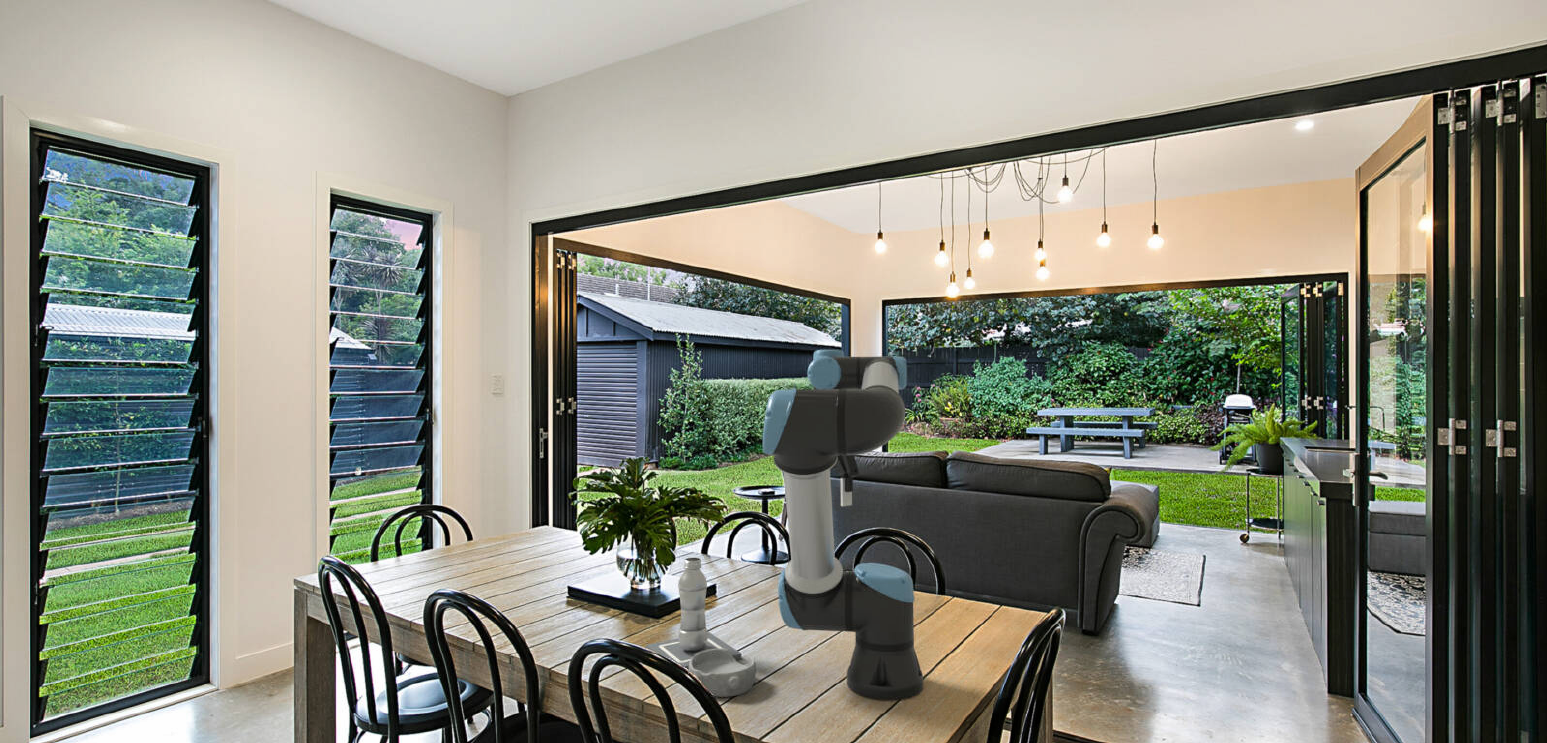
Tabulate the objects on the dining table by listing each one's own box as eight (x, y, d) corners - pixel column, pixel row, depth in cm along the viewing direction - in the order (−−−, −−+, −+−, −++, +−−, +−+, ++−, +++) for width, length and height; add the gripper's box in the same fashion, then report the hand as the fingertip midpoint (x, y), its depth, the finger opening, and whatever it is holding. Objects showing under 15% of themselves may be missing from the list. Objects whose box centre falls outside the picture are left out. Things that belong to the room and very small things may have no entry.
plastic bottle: (713, 647, 165) (713, 558, 165) (694, 657, 159) (694, 564, 159) (691, 642, 168) (691, 554, 168) (672, 651, 162) (671, 560, 163)
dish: (707, 667, 157) (707, 644, 157) (767, 677, 151) (766, 653, 152) (672, 694, 143) (672, 669, 143) (736, 706, 138) (736, 680, 138)
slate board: (741, 659, 161) (741, 653, 161) (673, 674, 153) (673, 668, 153) (709, 637, 175) (709, 632, 175) (645, 650, 166) (645, 644, 166)
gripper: (873, 415, 169) (874, 507, 168) (812, 411, 190) (813, 493, 190) (847, 416, 165) (848, 510, 164) (788, 412, 186) (788, 495, 186)
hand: (829, 501), depth 177 cm, fingers open, 13 cm apart
